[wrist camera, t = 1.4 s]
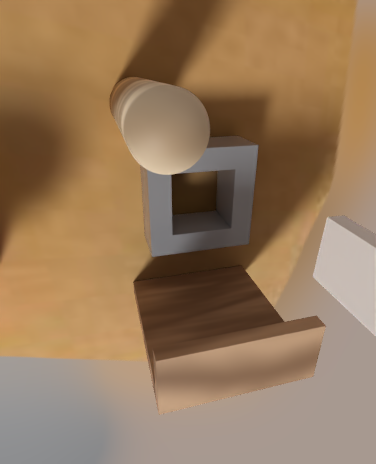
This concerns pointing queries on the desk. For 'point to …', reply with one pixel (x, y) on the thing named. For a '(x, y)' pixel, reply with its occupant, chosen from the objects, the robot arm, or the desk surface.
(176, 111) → the peg
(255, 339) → the wooden lipped block
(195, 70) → the desk surface
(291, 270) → the desk surface
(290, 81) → the desk surface
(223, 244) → the socket
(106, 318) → the desk surface
